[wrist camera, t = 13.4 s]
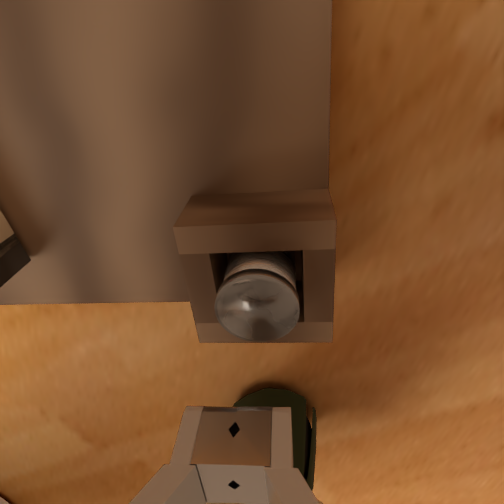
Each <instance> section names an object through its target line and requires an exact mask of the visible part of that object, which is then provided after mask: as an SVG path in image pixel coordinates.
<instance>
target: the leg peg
mask: <svg viewBox="0 0 504 504" xmlns="http://www.w3.org/2000/svg"><path fill="white" fill-rule="evenodd" d="M214 309H215V314H216V317H217V319H218V321H219V323H220V324H221V325H222V327H223V328H224V329H225V330H226V331H228V332H229V333H230V334H232V335H234V336H236V337H238V338H240V339H243V340H247V341H252V342H268V341H273V340H276V339H279V338H281V337H283V336H285V335H286V334H288V333H289V332H290V331H291V330H292V329H293V328H294V327H295V325H296V324H297V321H298V319H299V313H300V307H299V297H298V293H297V291H296V266H295V250H294V251H265V252H235V253H230V257H229V261H228V265H227V269H226V272H225V276H224V280H223V283H222V284H221V286H220V287H219V290H218V292H217V296H216V300H215V306H214Z"/></svg>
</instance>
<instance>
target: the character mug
mask: <svg viewBox="0 0 504 504" xmlns="http://www.w3.org/2000/svg"><path fill="white" fill-rule="evenodd" d="M233 407H291V420H292V443H293V468H298V469H299V471H300V473H301V474H302V476H303V477H304V479H305V481H306V482H307V484H308V486H309V487H310V489H311V491H312V490H313V482H314V468H315V454H316V410H315V408H314V407H313V417H312V428H311V425H310V423H309V420H308V418H307V416H306V399H305V398H304V397H303V396H301V395H298V394H296V393H294V392H291V391H289V390H284V389H271V388H265V389H263V390H260V391H257V392H254V393H252V394H249V395H247V396H245V397H244V398H242V399H241V400H239V401H238V402H236V403H235V404H234V406H233ZM318 502H319V504H323V503H322V502H320V501H319V500H318ZM206 504H243V503H206Z"/></svg>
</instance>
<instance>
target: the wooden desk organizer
mask: <svg viewBox="0 0 504 504" xmlns="http://www.w3.org/2000/svg"><path fill="white" fill-rule="evenodd" d="M331 33H332V0H0V210H1V212H2V214H3V215H4V217H5V218H6V220H7V222H8V223H9V225H10V227H11V228H12V230H13V232H14V233H15V235H16V236H17V238H18V240H19V241H20V243H21V245H22V246H23V248H24V249H25V251H26V253H27V254H28V256H29V258H30V259H31V261H30V262H29V263H28V264H27V265H25V266H24V267H23V268H22V269H21V270H20V271H19V272H17V273H16V274H15V275H14V276H13V277H12V278H11V279H10V280H8V281H7V282H6V283H5V284H4V285H3V286H2V287H0V305H15V304H72V303H130V302H188V301H190V303H191V308H192V312H193V316H194V320H195V325H196V329H197V333H198V337H199V342H200V343H295V342H332V341H333V311H334V282H335V253H336V223H337V220H336V216H335V212H334V208H333V204H332V200H331V196H330V193H329V189H328V185H329V134H330V84H331ZM294 250H295V266H296V291H297V293H298V297H299V307H300V313H299V319H298V321H297V324H296V325H295V327H294V328H293V329H292V330H291V331H290V332H289V333H288V334H286V335H285V336H283V337H281V338H279V339H276V340H273V341H268V342H252V341H247V340H243V339H240V338H238V337H236V336H234V335H232V334H230V333H229V332H228V331H226V330H225V329H224V328H223V327H222V325H221V324H220V323H219V321H218V319H217V317H216V314H215V309H214V306H215V300H216V296H217V292H218V290H219V287H220V286H221V284H222V283H223V280H224V276H225V272H226V269H227V265H228V261H229V257H230V253H235V252H265V251H294Z"/></svg>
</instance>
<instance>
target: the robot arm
mask: <svg viewBox="0 0 504 504" xmlns="http://www.w3.org/2000/svg"><path fill="white" fill-rule="evenodd" d="M206 503H243V504H319V502H318V500H317V499H316V497H315V496H314V494H313V492H312V491H311V489H310V487H309V486H308V484H307V482H306V481H305V479H304V477H303V476H302V474H301V473H300V471H299V469H298V468H293V443H292V420H291V407H208V406H187V407H186V409H185V410H184V412H183V416H182V420H181V423H180V427H179V431H178V434H177V438H176V442H175V445H174V449H173V453H172V457H171V460H170V464H164V465H163V466H162V467H161V468H160V469H159V471H158V472H157V473H156V474H155V475H154V476H153V477H152V478H151V479H150V480H149V482H148V483H147V484H146V485H145V486H144V487H143V488H142V489H141V490H140V491H139V493H138V494H137V495H136V496H135V497H134V498H133V499H132V500H131V501H130V503H129V504H206ZM0 504H9V503H8V502H7V501H5V500H4V499H3V498H1V497H0Z"/></svg>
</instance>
